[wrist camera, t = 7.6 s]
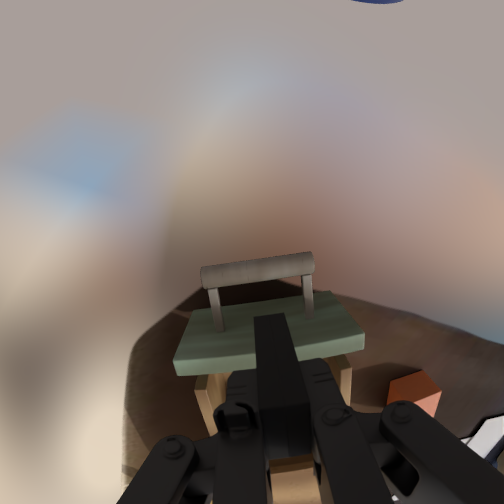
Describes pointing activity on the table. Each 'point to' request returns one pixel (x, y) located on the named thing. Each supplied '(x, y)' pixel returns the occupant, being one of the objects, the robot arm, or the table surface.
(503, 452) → the planter bowl
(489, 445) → the paper stack
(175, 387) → the table surface
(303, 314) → the drawer
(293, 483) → the cabinet
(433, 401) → the block
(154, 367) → the table surface
